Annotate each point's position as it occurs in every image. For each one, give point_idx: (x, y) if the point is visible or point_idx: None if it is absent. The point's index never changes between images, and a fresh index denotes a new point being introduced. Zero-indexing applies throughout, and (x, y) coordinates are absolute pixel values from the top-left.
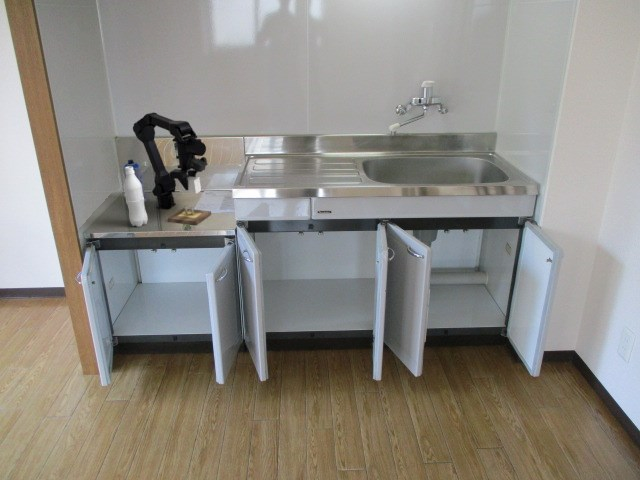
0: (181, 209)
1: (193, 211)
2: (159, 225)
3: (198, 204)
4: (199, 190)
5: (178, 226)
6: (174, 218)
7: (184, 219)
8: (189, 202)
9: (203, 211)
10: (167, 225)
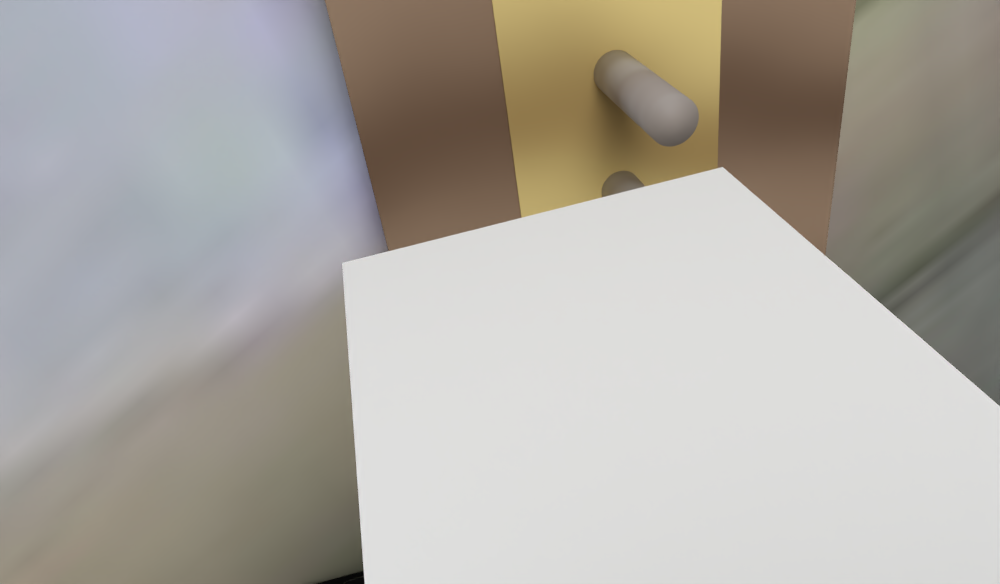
0: None
1: (467, 181)
2: (917, 282)
3: (76, 399)
4: (467, 255)
5: (926, 36)
6: (809, 229)
7: (818, 62)
8: (117, 537)
9: (376, 7)
10: (908, 201)
